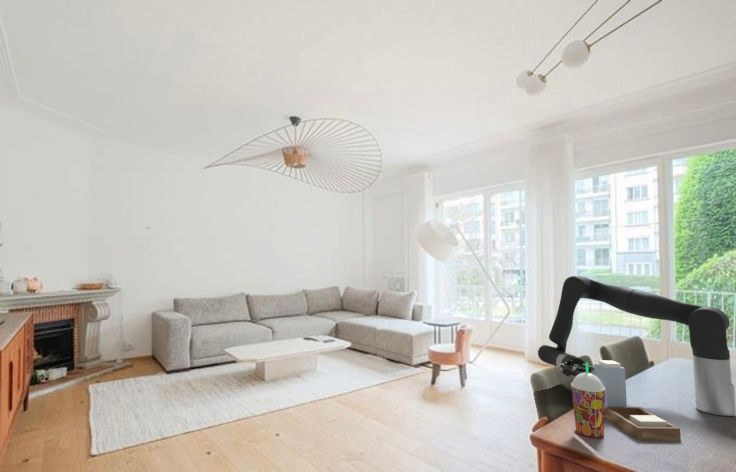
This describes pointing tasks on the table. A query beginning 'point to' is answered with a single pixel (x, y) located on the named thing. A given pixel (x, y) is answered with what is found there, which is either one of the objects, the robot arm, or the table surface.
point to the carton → (612, 382)
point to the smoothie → (588, 404)
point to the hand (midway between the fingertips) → (593, 376)
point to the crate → (622, 420)
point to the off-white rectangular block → (648, 421)
